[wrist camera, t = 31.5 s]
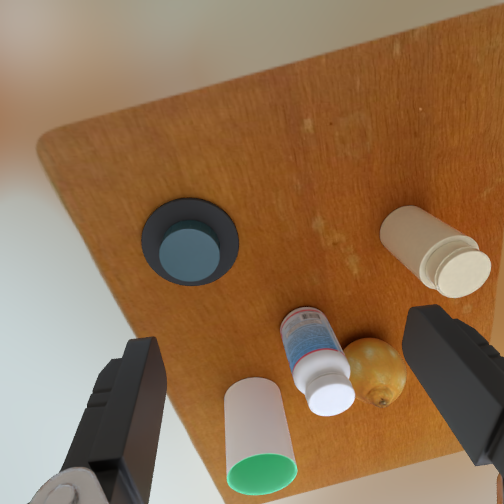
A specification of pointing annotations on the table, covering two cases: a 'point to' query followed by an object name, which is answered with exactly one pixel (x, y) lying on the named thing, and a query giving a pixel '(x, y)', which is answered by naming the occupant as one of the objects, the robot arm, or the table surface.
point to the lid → (189, 251)
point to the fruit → (375, 371)
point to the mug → (257, 438)
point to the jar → (435, 251)
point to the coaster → (198, 212)
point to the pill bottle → (317, 361)
